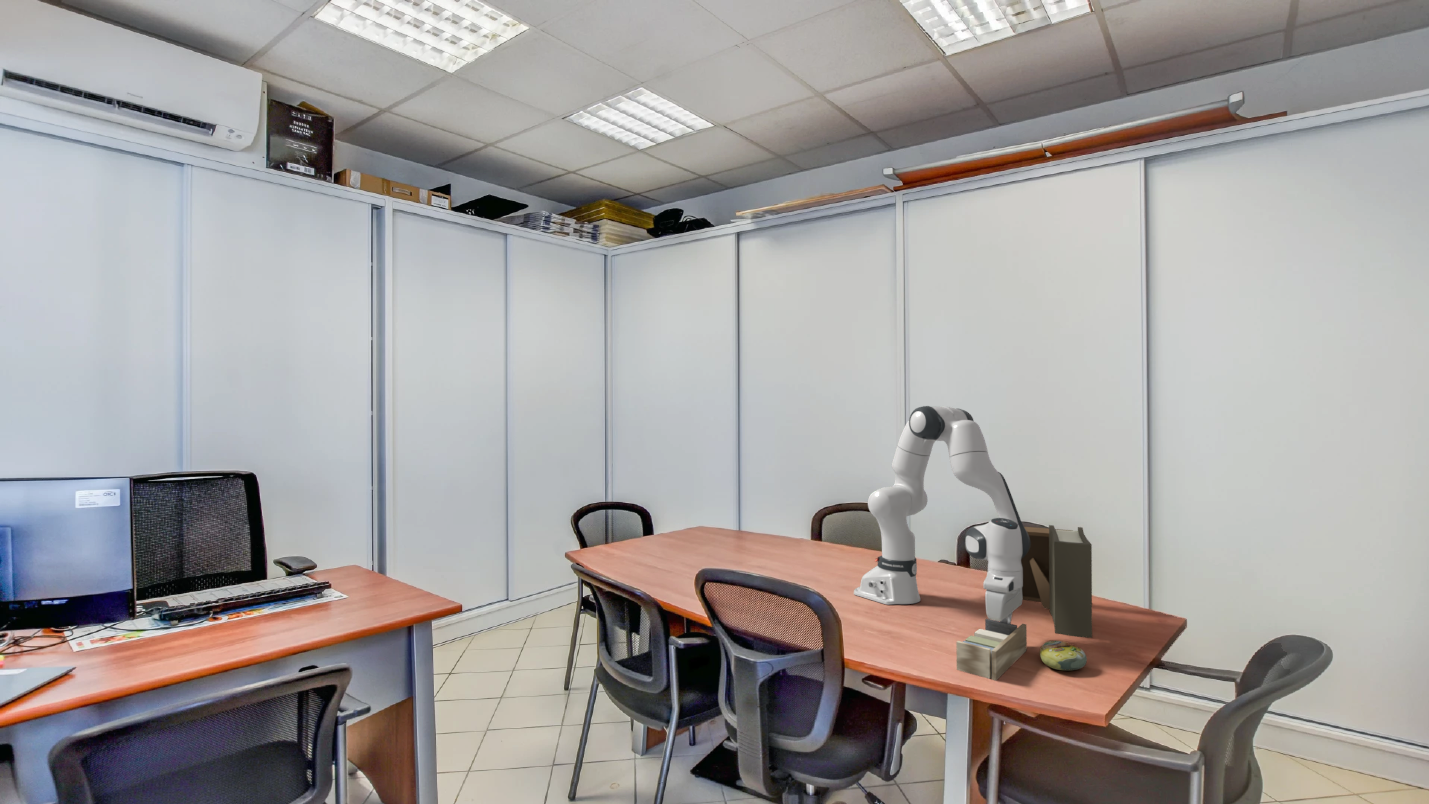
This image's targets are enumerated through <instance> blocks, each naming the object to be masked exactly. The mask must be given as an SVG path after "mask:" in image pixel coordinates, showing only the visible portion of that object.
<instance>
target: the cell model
mask: <svg viewBox="0 0 1429 804" xmlns="http://www.w3.org/2000/svg"><path fill="white" fill-rule="evenodd" d="M1039 657H1040V659H1041V661H1042V663H1043V664H1044V665H1045V666H1047V667H1049V668H1051V669H1054V670H1057V671H1058V670H1059V671H1069V672H1070V671H1076V670H1079V669H1082V668H1084V667H1085V666H1086V665H1087V661H1088V659H1087V655H1086V653H1085V651H1084V650H1083V649H1082V648H1081V647H1079V646H1077V645H1075V644H1074V643H1070V642H1067V641H1063V640H1050V641H1046V642H1044V643H1043V644H1042V645H1041V647H1040V650H1039Z"/></svg>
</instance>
